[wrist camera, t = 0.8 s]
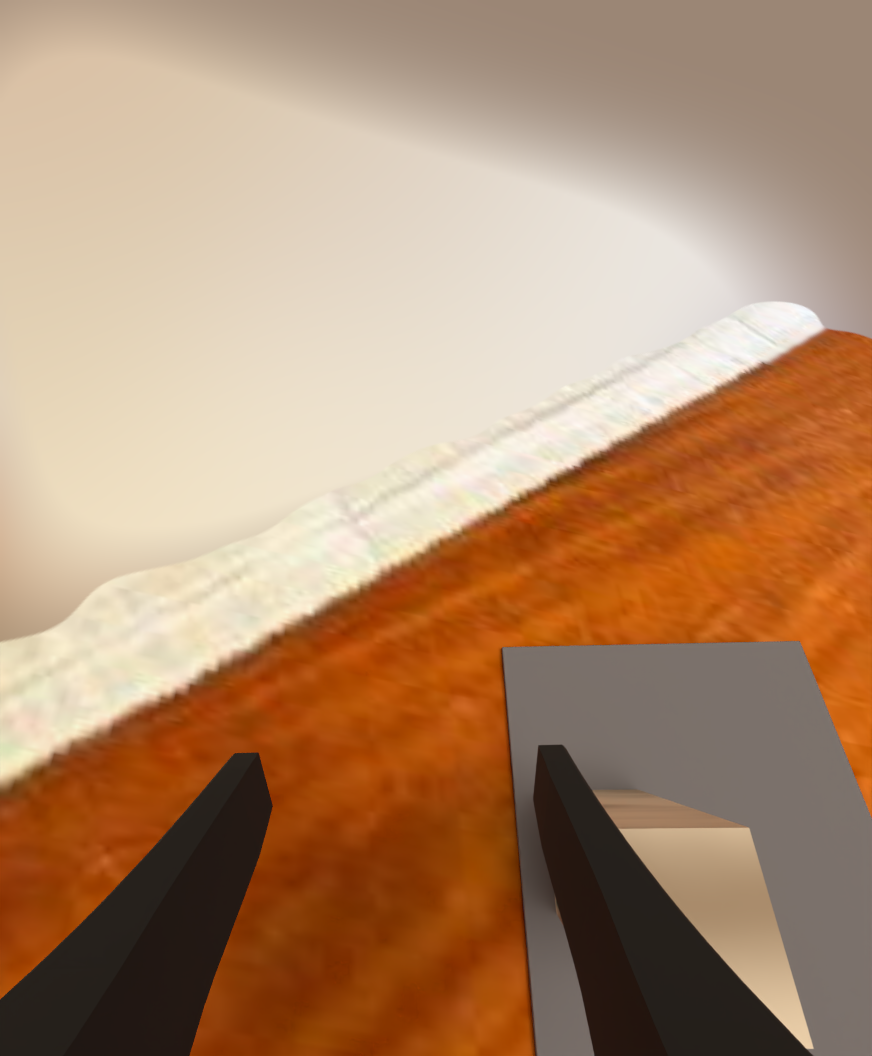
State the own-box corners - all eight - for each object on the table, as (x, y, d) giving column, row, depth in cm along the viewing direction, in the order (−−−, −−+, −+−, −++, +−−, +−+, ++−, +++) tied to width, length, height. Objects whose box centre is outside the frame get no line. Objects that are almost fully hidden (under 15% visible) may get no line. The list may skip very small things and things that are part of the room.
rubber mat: (998, 1155, 16) (1013, 1167, 16) (543, 1149, 17) (546, 1161, 16) (793, 642, 25) (799, 641, 24) (501, 648, 25) (502, 647, 25)
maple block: (661, 913, 19) (814, 1048, 11) (552, 913, 19) (624, 1047, 11) (637, 789, 21) (749, 827, 13) (539, 790, 22) (591, 828, 13)
